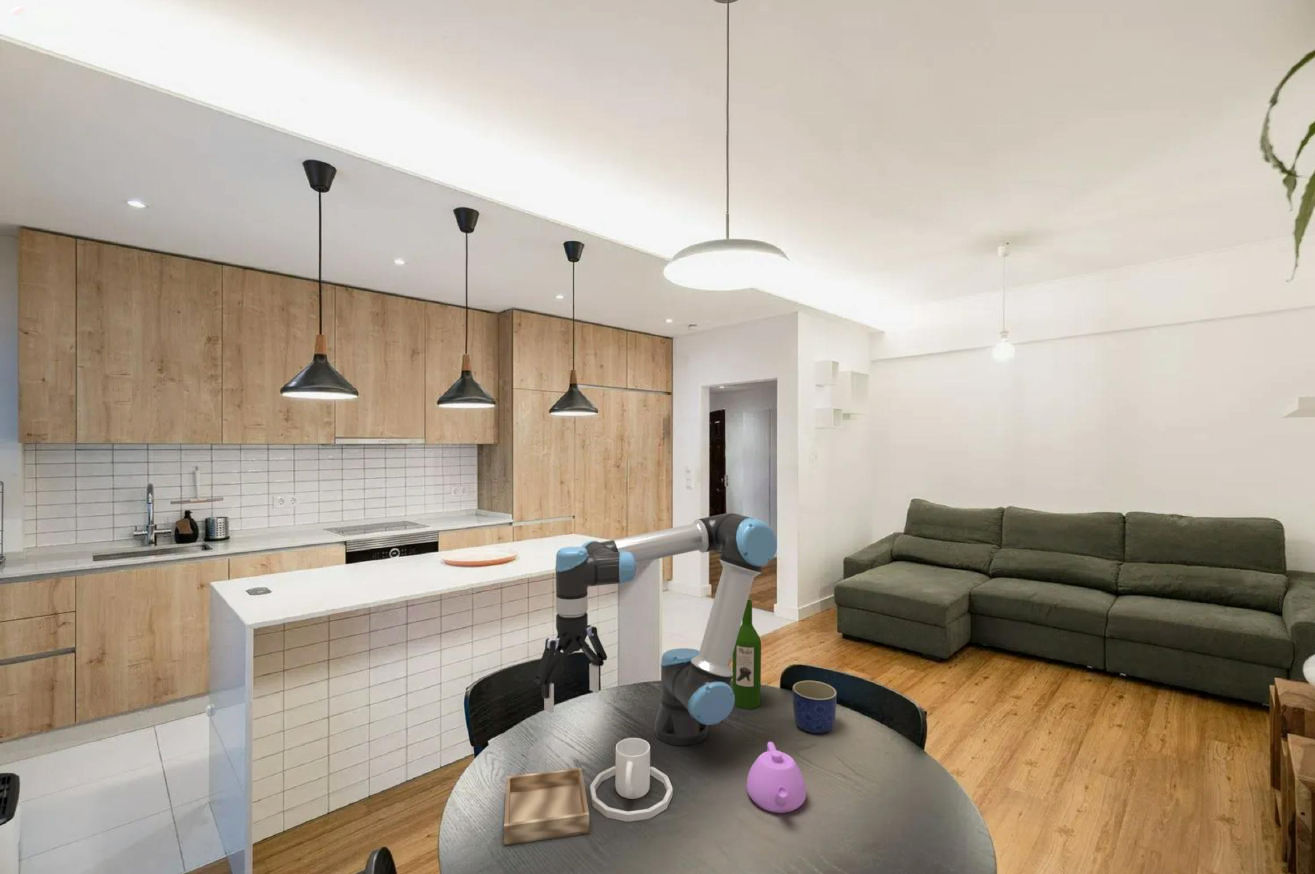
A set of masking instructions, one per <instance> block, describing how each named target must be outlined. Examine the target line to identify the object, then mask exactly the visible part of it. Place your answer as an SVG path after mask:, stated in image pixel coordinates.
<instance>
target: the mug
mask: <svg viewBox="0 0 1315 874" xmlns="http://www.w3.org/2000/svg"><path fill="white" fill-rule="evenodd" d="M615 766H616V770H615V775H614V776H615V777H614V778H615V785H614V786H615V790H616V792H617V794H618V795H619V796H621V797H622V798H625V799H629V800H635V799H636V800H638V799H640V798H642V797H644V796H646V795H647V794H648V792H649V791H650V787H651V786H650V785H651V783H650V782H651V775H650V766H651V745H650V744H649V742H648V741H647V740H645V739H643V738H640V737H627V738H624V739H621V740H619V741H618V742H617V743H616V745H615Z"/></svg>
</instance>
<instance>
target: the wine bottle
mask: <svg viewBox="0 0 1315 874" xmlns="http://www.w3.org/2000/svg"><path fill="white" fill-rule="evenodd" d="M731 670H732V672H733V677H732V680H731V688H732V690H733V693H734V696H735V702H734V706H735V707H738V708H739V709H744V710H753V709H756V708H759V707H760V705H761V694H762V693H761V691H762V690H761V688H762V687H761V684H762V683H761V682H762V681H761V680H762V640H761V638H760V635H759V634H758V632H757V630H756V629H755V627H754V625H753V600H752V599H748V601H747V604H746V608H745V611H744V615H743V619H742V622H741V626H740V629H739V633H738V637H737V640H736V644H735V648H734V651H733V655H732V668H731Z"/></svg>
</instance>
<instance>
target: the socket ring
mask: <svg viewBox="0 0 1315 874" xmlns="http://www.w3.org/2000/svg"><path fill="white" fill-rule="evenodd" d="M615 770H616V765H613V766H611V767H610V768H607V769H605V770H603V771H601V772H599V773H597V775H596V777H595V778H594V779H593V781H592V782H591V784H590V785H589V794H590V800H591V805H592V807H593V808H594V809H595V810H597V812H599V813H600V814H602V815H603V816H604V817H605V818H608V819H613V820H618V821H621V822H627V823H630V822H637V821H644V820H650V819H652V818H653V817H655V816H657V815H658V814H660V813H662V812H664V811H665V810H667V809H668V806H669V804H670V802H671V800H672V798H673V795H674V794H673V793H674V791H673V789H674V788H673V786H672V784H671V781H670V778H669V777H668V775H667V774H665V773H664V772H662V771H660V770H659V769H657V768H656V767H654V766H651V765H650V777H651V776H652V777H653V778H655V779H656V780H658V781H659V782H660V783H662V784H663V785H664V788H665V790H666V793H665V795H664V797H663V799H662V800H661V801H659V802H657V803H656V804H654V805H652V806H651V807H649V808H644V809H638V810H637V809H636V810H631V811H627V810H622V809H618V808H614V807H609V806H608V805H606V804H605V803H604V802H603V801H602V800H600V799H599V798H598V797H597V794H596V793H597V792H596V791H597V790H598V788H599V787H600V785H601V784H602V782H604V781H605V780H608V779H611V778H612V777H614V776H615Z"/></svg>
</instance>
